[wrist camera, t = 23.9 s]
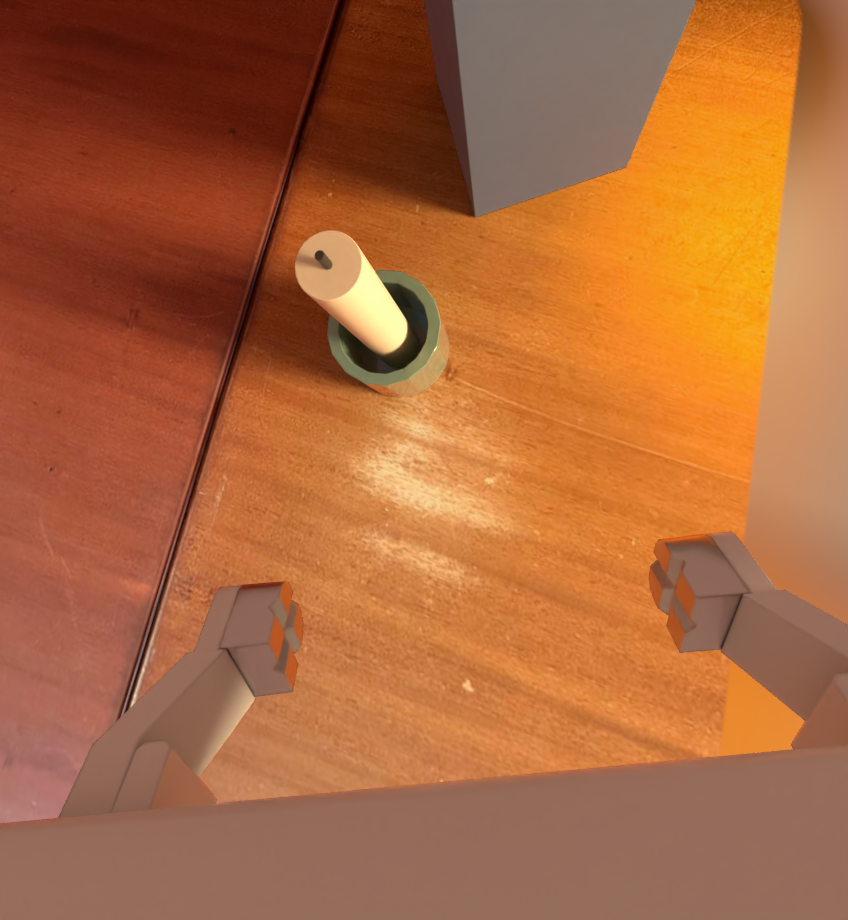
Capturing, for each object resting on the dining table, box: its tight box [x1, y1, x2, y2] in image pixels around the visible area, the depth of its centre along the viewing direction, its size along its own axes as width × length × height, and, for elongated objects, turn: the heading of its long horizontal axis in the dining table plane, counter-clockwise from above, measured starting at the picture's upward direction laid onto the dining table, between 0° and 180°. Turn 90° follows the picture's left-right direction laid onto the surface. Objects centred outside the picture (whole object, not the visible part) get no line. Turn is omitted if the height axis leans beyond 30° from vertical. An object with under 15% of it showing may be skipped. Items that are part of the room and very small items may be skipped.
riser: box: [424, 0, 696, 217], centre depth 25 cm, size 10×10×17 cm
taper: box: [295, 230, 419, 367], centre depth 27 cm, size 3×3×15 cm
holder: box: [327, 270, 449, 397], centre depth 32 cm, size 7×7×6 cm
